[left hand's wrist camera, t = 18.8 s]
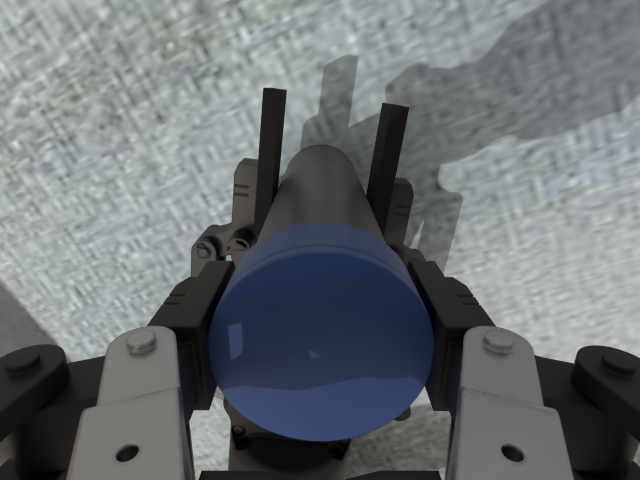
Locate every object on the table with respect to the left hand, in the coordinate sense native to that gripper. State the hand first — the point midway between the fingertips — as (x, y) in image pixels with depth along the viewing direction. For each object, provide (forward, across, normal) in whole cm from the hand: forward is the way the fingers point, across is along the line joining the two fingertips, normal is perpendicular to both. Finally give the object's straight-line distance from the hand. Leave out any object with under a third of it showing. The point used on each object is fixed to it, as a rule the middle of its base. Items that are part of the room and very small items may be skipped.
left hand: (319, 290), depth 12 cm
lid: (-3, 0, 0) cm, 3 cm away
